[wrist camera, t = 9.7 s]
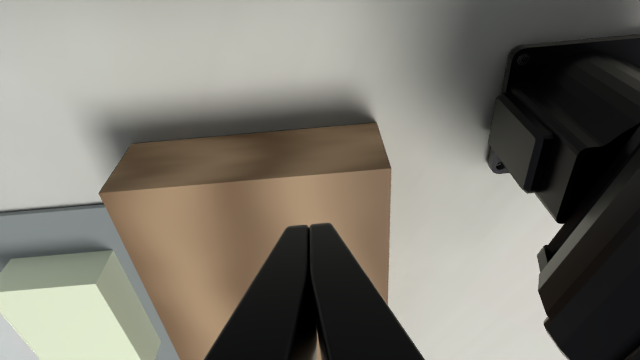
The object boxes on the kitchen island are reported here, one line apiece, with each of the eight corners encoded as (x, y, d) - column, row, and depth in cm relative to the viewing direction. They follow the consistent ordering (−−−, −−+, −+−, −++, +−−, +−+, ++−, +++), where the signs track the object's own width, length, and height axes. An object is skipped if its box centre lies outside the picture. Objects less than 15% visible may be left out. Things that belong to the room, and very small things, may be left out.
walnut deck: (376, 122, 20) (391, 168, 17) (376, 370, 33) (384, 423, 29) (131, 143, 20) (98, 193, 17) (225, 381, 33) (217, 436, 30)
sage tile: (-17, 293, 22) (10, 258, 24) (60, 382, 27) (76, 348, 29) (95, 283, 22) (113, 250, 24) (150, 375, 27) (161, 341, 29)
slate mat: (135, 201, 22) (133, 204, 22) (202, 358, 31) (202, 362, 31) (-66, 218, 22) (-70, 222, 22) (58, 369, 31) (55, 373, 31)
